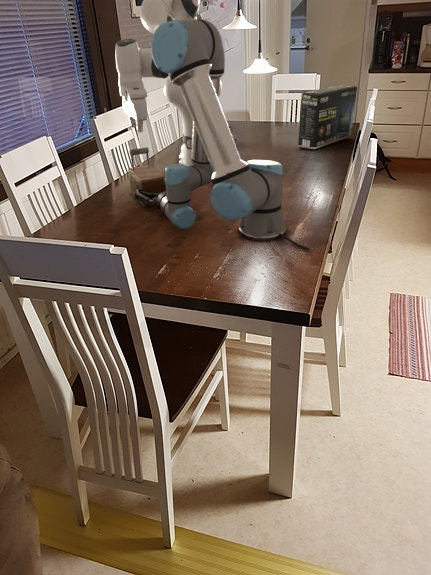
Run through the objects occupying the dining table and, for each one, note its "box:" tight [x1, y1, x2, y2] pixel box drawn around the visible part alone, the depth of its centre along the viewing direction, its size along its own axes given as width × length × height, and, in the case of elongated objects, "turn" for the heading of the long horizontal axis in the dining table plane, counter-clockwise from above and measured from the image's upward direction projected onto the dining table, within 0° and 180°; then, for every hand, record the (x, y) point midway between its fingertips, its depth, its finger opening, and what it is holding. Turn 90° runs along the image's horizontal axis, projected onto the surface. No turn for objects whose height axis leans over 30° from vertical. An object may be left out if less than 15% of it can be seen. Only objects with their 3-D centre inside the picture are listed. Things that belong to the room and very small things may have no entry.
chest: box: [128, 171, 166, 208], centre depth 179 cm, size 17×10×9 cm, turn 24°
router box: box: [297, 84, 358, 151], centre depth 238 cm, size 36×11×27 cm, turn 134°
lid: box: [127, 147, 165, 183], centre depth 175 cm, size 18×10×9 cm, turn 24°
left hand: (136, 129), depth 174 cm, fingers open, 8 cm apart
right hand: (150, 186), depth 175 cm, fingers closed on chest, 9 cm apart
